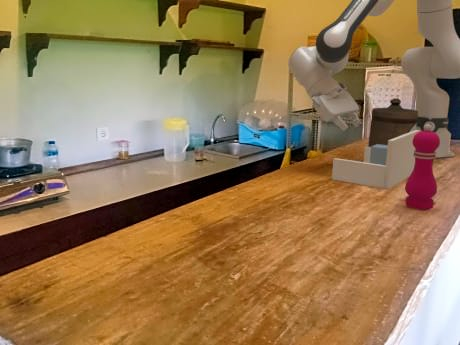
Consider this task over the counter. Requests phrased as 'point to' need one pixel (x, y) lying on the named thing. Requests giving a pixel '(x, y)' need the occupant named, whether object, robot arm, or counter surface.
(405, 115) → the wooden container
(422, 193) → the pepper mill
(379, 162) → the block
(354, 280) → the counter surface
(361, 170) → the open box
